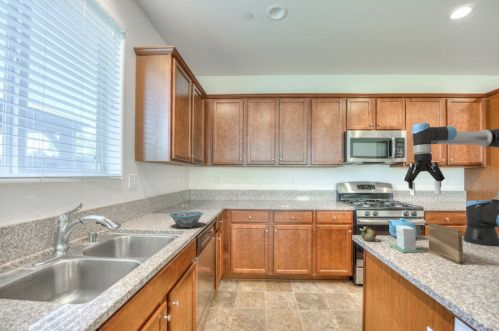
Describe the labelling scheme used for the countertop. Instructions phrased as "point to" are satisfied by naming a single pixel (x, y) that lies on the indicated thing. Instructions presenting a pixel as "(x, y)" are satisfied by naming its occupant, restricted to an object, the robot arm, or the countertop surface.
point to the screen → (446, 243)
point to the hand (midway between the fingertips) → (425, 194)
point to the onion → (368, 234)
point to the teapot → (400, 223)
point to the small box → (406, 237)
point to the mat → (406, 250)
